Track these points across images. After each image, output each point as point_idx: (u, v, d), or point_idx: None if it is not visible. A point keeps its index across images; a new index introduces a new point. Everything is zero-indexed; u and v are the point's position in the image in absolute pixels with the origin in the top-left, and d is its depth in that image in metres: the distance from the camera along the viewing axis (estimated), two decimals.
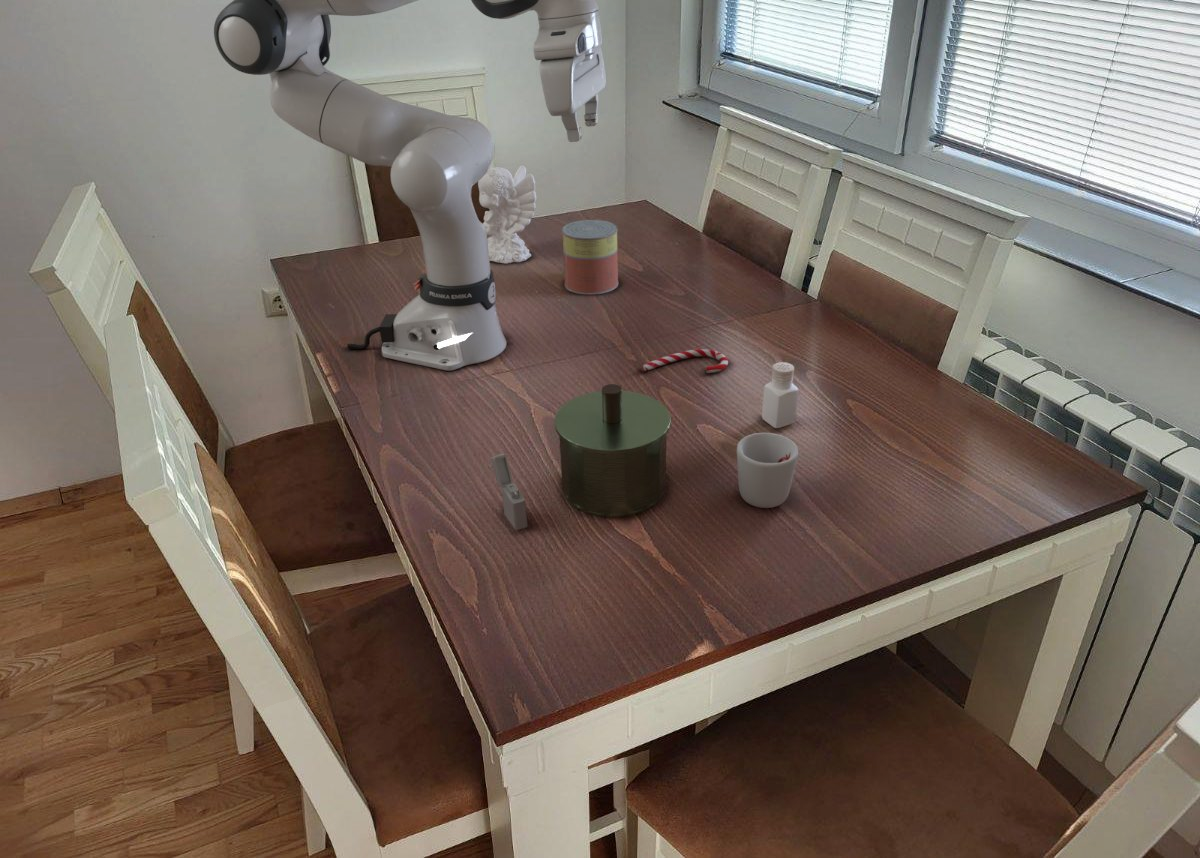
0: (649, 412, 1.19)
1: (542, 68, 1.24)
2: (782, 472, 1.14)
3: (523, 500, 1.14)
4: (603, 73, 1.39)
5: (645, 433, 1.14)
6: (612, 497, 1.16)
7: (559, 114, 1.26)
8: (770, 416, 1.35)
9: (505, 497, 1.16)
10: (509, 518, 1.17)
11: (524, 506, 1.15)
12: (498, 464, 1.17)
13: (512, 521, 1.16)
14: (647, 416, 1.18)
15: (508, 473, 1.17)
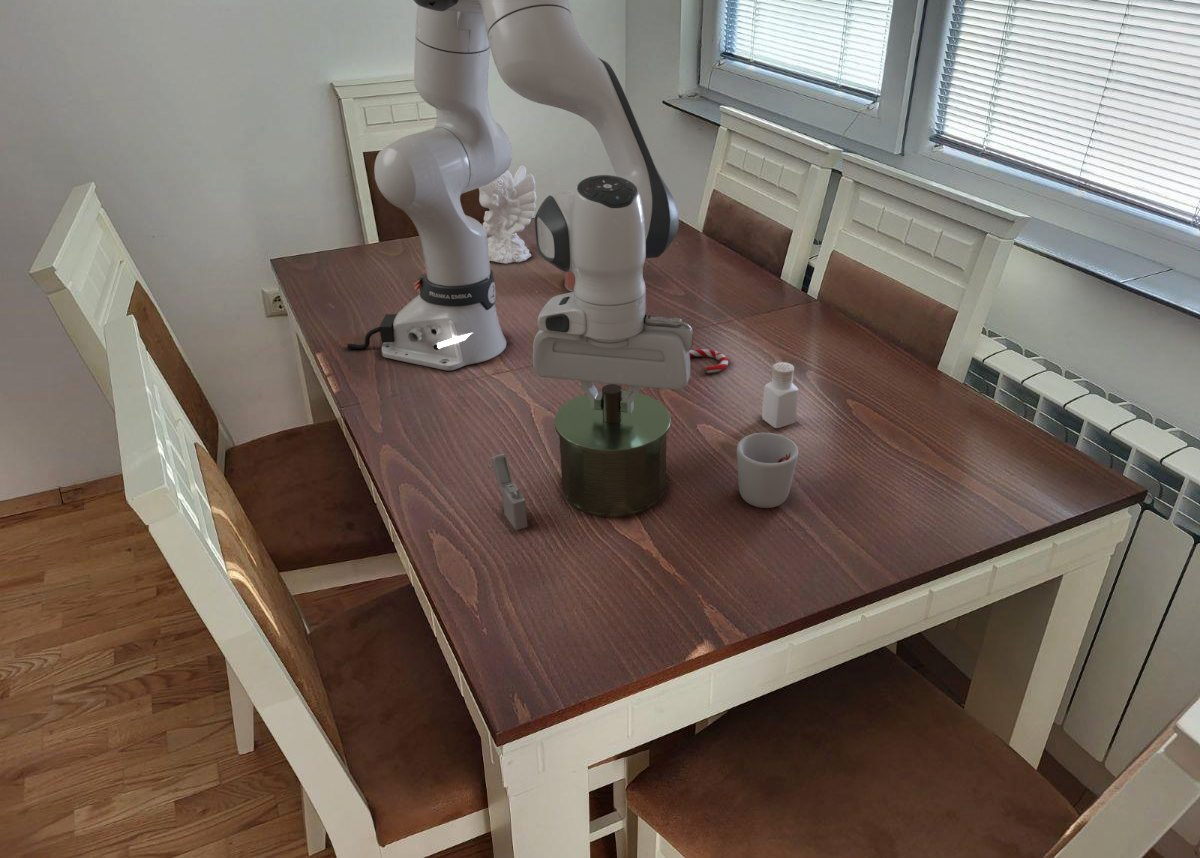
0: (649, 412, 1.19)
1: None
2: (782, 472, 1.14)
3: (523, 500, 1.14)
4: (674, 375, 1.10)
5: (645, 433, 1.14)
6: (612, 497, 1.16)
7: None
8: (770, 416, 1.35)
9: (505, 497, 1.16)
10: (509, 518, 1.17)
11: (524, 506, 1.15)
12: (498, 464, 1.17)
13: (512, 521, 1.16)
14: (647, 416, 1.18)
15: (508, 473, 1.17)
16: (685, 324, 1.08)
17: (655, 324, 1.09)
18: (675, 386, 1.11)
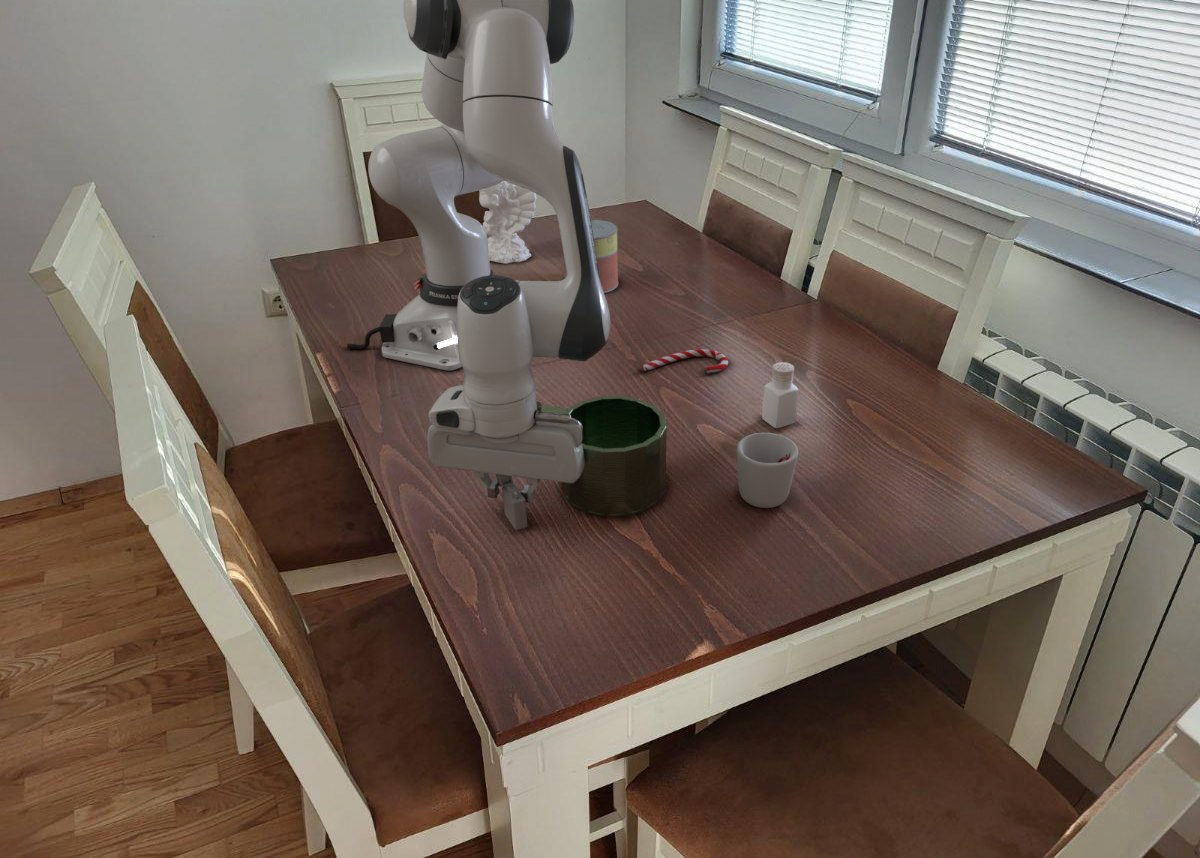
0: None
1: None
2: (782, 472, 1.14)
3: (523, 500, 1.14)
4: (565, 469, 1.10)
5: None
6: (612, 497, 1.16)
7: None
8: (770, 416, 1.35)
9: (505, 497, 1.16)
10: (509, 518, 1.17)
11: (524, 506, 1.15)
12: None
13: (512, 521, 1.16)
14: None
15: None
16: (574, 420, 1.08)
17: (545, 420, 1.09)
18: (567, 479, 1.11)
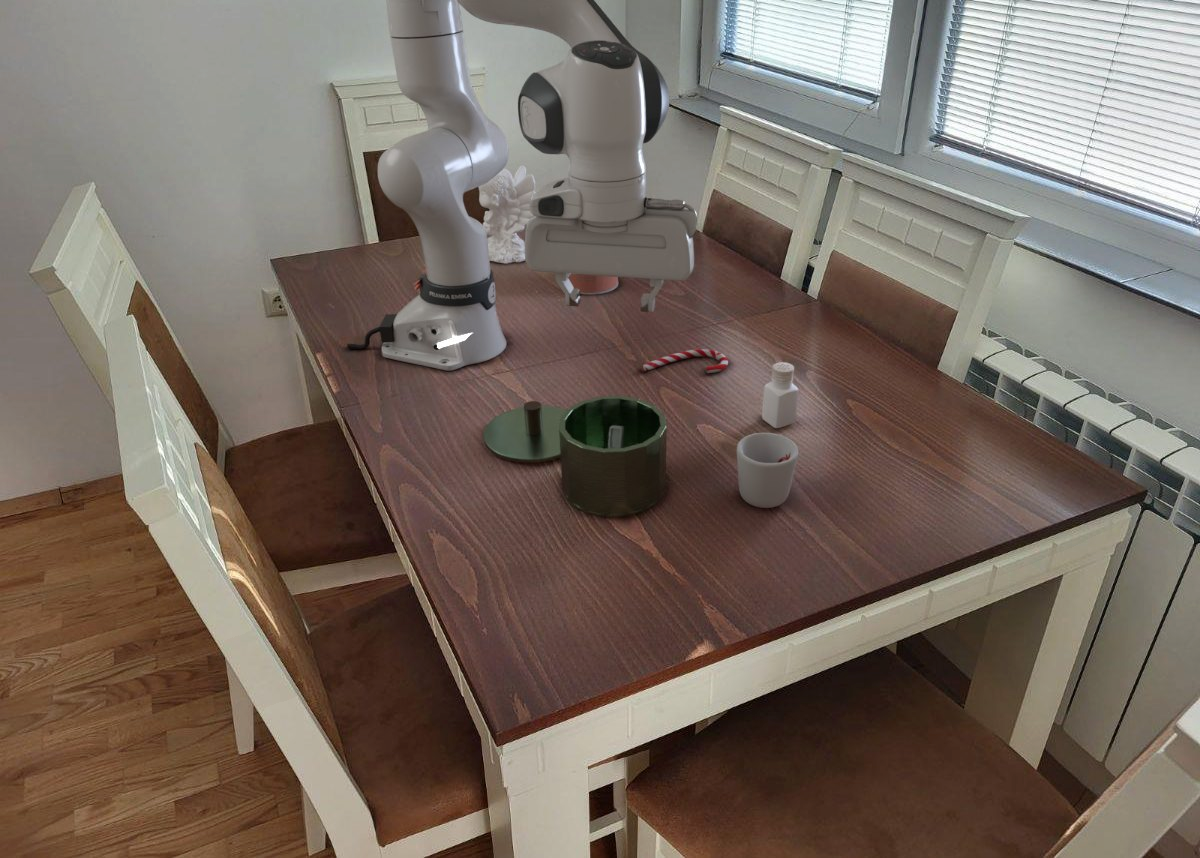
0: None
1: None
2: (782, 472, 1.14)
3: None
4: (676, 263, 1.02)
5: None
6: (612, 497, 1.16)
7: None
8: (770, 416, 1.35)
9: None
10: None
11: None
12: (614, 434, 1.22)
13: None
14: None
15: (619, 446, 1.21)
16: (688, 206, 1.00)
17: (656, 207, 1.01)
18: (678, 276, 1.03)
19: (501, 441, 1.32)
